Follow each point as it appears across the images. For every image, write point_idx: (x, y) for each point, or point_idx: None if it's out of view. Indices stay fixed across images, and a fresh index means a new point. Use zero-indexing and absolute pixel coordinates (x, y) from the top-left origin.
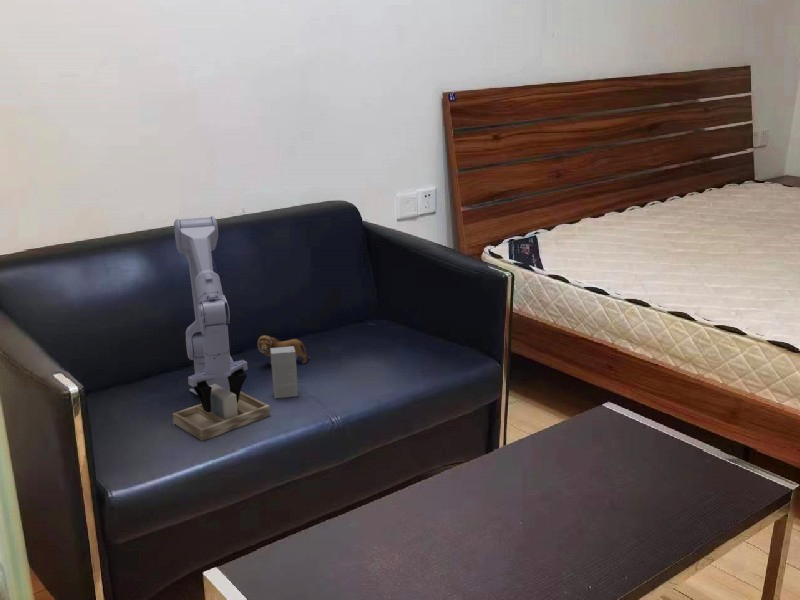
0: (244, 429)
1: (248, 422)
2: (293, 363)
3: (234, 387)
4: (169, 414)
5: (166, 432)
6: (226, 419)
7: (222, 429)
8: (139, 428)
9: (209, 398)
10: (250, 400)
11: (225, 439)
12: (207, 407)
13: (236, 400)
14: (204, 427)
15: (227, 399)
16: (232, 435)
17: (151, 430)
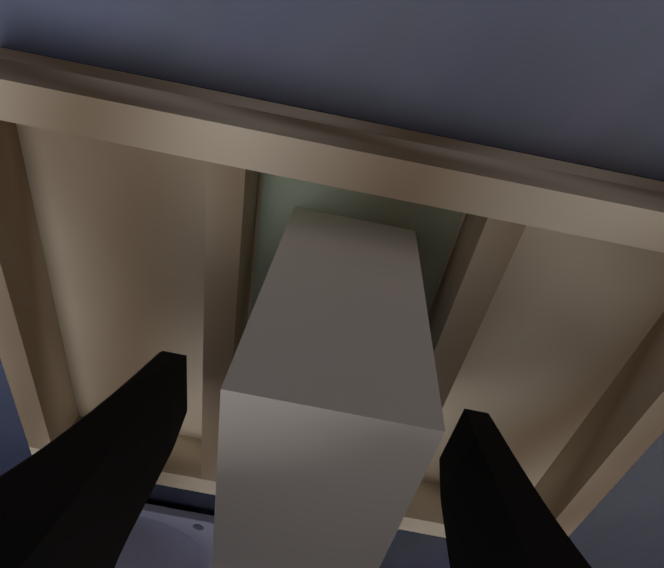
0: (364, 34)
1: (251, 100)
2: None
3: (99, 515)
4: (445, 545)
5: (655, 460)
6: (417, 247)
7: (549, 168)
8: (647, 560)
9: (539, 557)
10: (33, 324)
11: (650, 29)
12: (514, 461)
13: (252, 320)
14: (572, 319)
15: (397, 397)
16: (536, 37)
17: (653, 519)
